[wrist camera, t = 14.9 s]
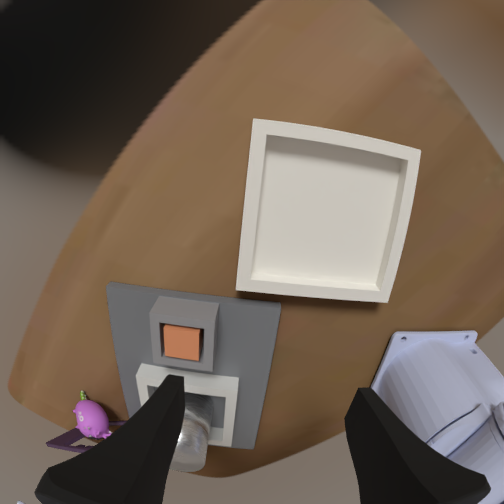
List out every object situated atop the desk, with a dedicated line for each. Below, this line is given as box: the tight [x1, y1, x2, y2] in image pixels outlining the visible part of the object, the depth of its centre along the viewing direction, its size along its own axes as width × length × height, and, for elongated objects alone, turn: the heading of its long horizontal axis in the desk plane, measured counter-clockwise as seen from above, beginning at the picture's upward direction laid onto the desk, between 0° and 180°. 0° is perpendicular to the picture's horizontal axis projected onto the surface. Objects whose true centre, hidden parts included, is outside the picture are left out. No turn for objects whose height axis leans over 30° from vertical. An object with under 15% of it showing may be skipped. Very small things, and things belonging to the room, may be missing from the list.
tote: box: [236, 119, 421, 303], centre depth 18 cm, size 10×10×1 cm
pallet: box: [106, 282, 281, 449], centre depth 22 cm, size 12×16×3 cm
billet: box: [169, 392, 214, 472], centre depth 20 cm, size 4×4×6 cm
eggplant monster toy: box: [46, 391, 127, 453], centre depth 22 cm, size 7×5×9 cm
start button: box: [164, 323, 203, 361], centre depth 19 cm, size 2×2×2 cm
